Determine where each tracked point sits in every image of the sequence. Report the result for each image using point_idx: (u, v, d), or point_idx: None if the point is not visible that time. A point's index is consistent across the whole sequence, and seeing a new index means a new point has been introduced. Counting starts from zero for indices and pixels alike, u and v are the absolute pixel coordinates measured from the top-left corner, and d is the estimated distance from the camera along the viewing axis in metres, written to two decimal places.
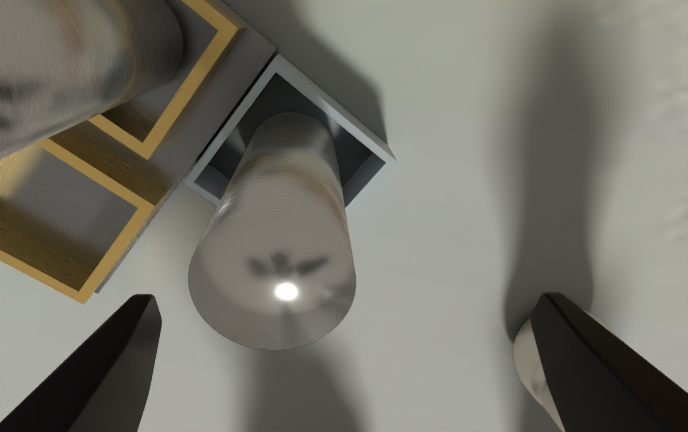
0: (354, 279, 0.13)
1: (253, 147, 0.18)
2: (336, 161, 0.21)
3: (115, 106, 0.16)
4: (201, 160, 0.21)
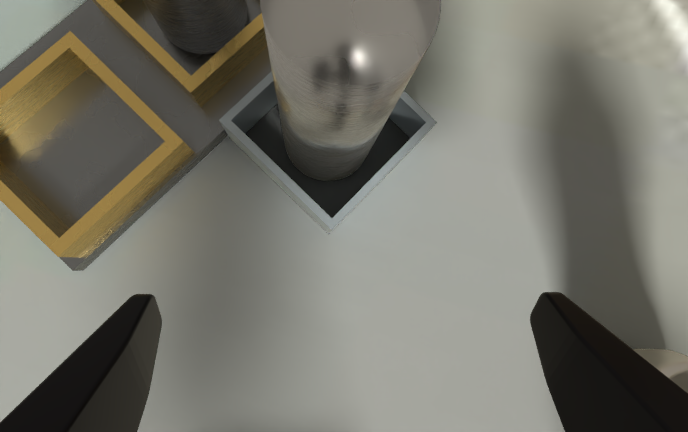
0: (439, 3, 0.12)
1: None
2: None
3: None
4: (244, 98, 0.21)
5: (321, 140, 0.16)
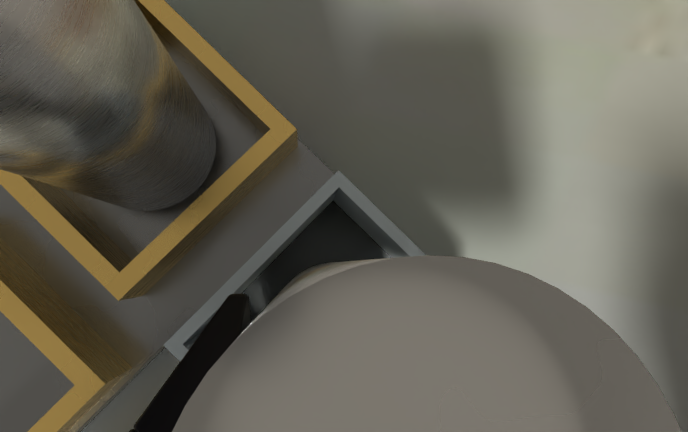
0: None
1: None
2: None
3: (98, 171, 0.10)
4: (204, 307, 0.13)
5: None
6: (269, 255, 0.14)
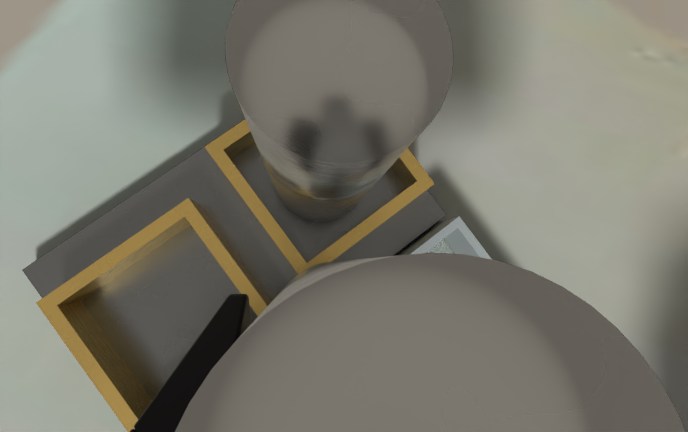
0: None
1: (303, 273, 0.11)
2: None
3: (342, 205, 0.16)
4: None
5: None
6: None
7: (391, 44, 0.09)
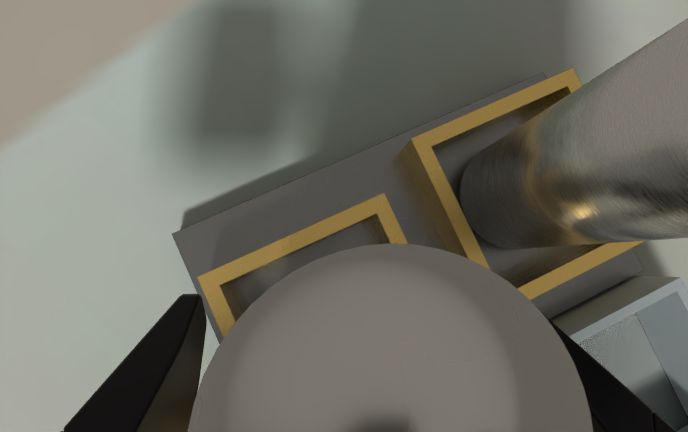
0: None
1: None
2: None
3: None
4: None
5: None
6: (611, 324, 0.17)
7: None
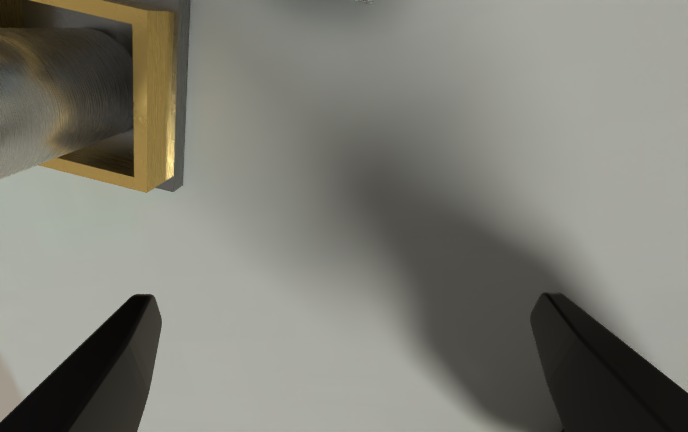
0: None
1: None
2: (31, 33, 0.15)
3: None
4: None
5: None
6: None
7: None
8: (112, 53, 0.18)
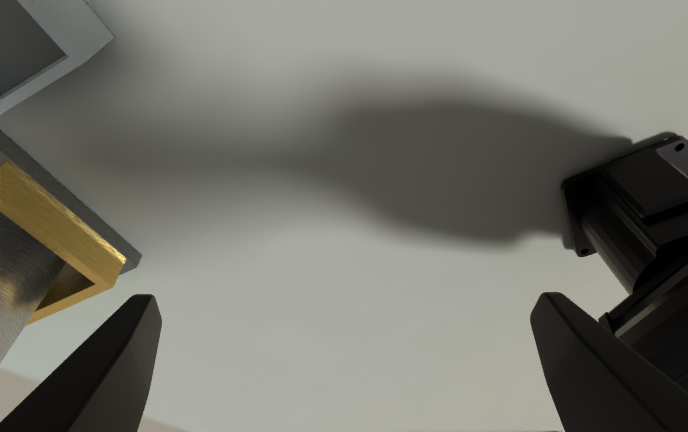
0: None
1: None
2: None
3: None
4: None
5: None
6: None
7: None
8: (2, 221, 0.21)
